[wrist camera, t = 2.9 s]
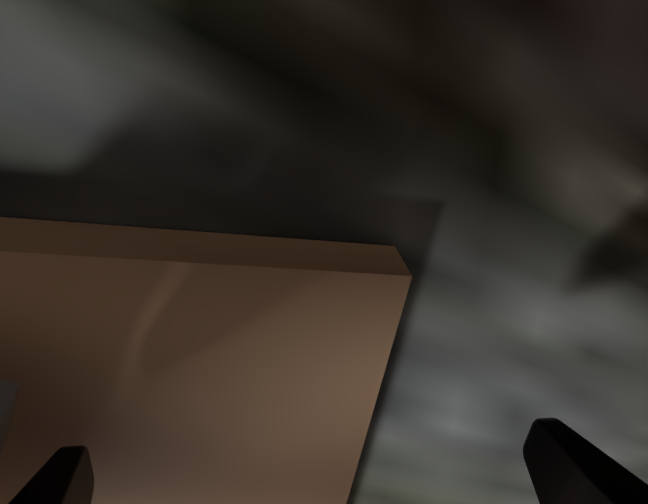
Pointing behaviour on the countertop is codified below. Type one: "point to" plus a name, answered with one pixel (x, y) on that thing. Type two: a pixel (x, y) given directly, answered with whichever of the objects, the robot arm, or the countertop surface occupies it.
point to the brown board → (194, 359)
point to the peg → (6, 407)
